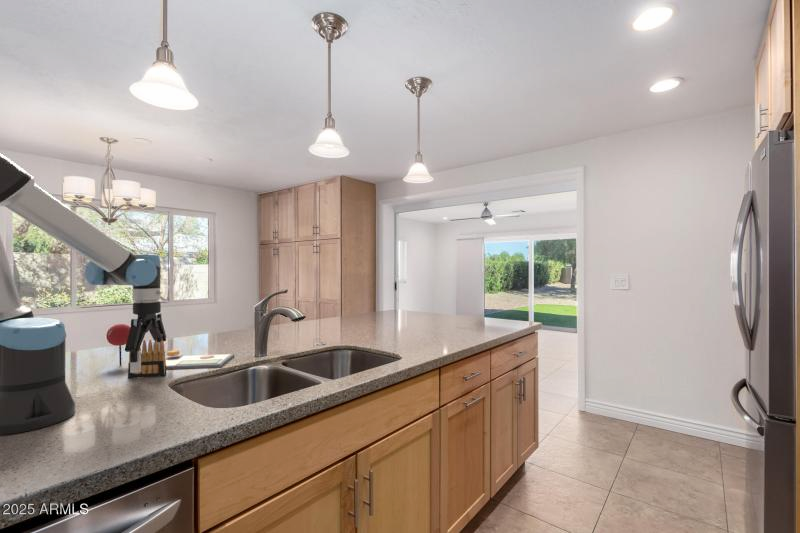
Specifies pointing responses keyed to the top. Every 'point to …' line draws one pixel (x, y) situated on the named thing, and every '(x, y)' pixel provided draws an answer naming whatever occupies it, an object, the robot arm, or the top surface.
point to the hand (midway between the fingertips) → (147, 366)
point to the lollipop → (118, 336)
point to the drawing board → (197, 361)
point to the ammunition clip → (151, 361)
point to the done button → (173, 353)
